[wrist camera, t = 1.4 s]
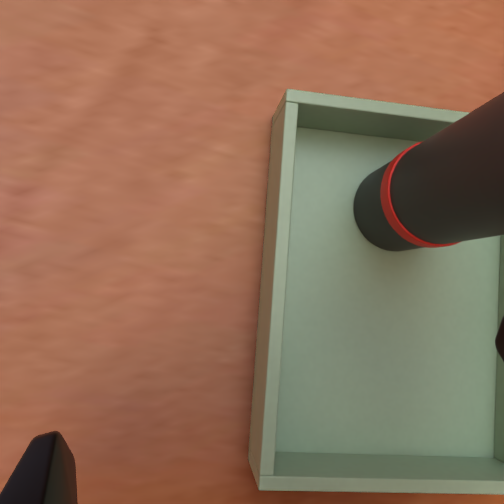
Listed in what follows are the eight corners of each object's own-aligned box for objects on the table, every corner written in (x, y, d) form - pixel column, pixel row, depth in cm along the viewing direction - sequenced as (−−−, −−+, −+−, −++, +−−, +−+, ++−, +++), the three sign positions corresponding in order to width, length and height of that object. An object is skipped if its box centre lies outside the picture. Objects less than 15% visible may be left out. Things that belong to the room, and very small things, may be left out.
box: (497, 465, 24) (548, 495, 21) (247, 459, 23) (258, 491, 19) (506, 145, 26) (556, 123, 22) (272, 116, 24) (286, 88, 21)
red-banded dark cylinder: (433, 257, 24) (670, 230, 12) (348, 249, 24) (511, 213, 12) (437, 170, 25) (670, 63, 13) (353, 160, 24) (516, 39, 12)
